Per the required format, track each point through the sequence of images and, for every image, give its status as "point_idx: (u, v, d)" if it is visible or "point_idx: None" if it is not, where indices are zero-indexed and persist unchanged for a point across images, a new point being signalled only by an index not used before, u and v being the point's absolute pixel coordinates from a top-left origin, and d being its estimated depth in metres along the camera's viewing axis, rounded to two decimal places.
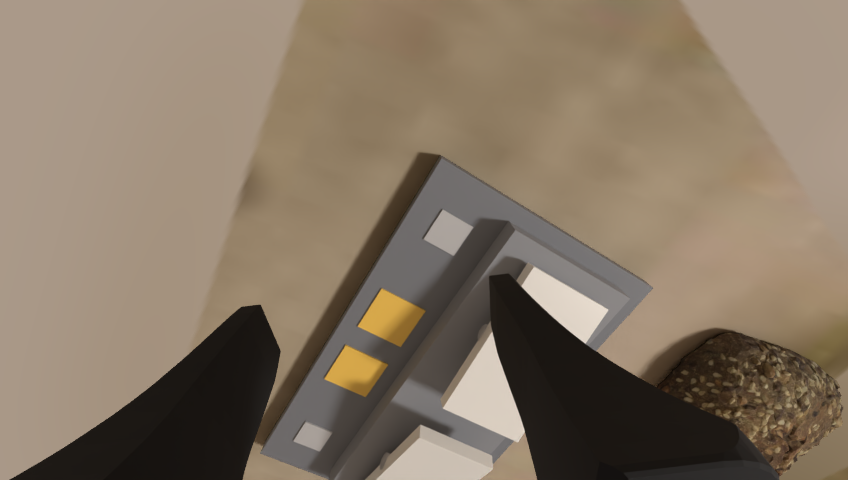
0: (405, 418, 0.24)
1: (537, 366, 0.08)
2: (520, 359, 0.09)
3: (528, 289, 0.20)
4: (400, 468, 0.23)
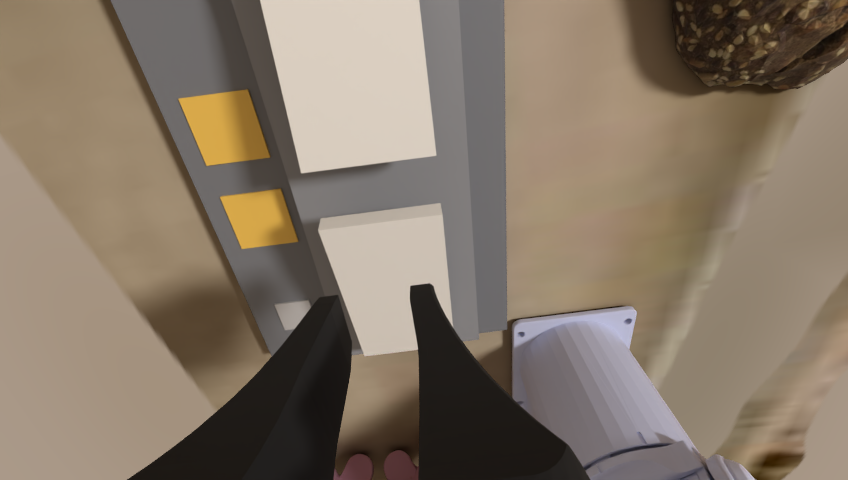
0: None
1: None
2: None
3: None
4: (352, 284, 0.17)
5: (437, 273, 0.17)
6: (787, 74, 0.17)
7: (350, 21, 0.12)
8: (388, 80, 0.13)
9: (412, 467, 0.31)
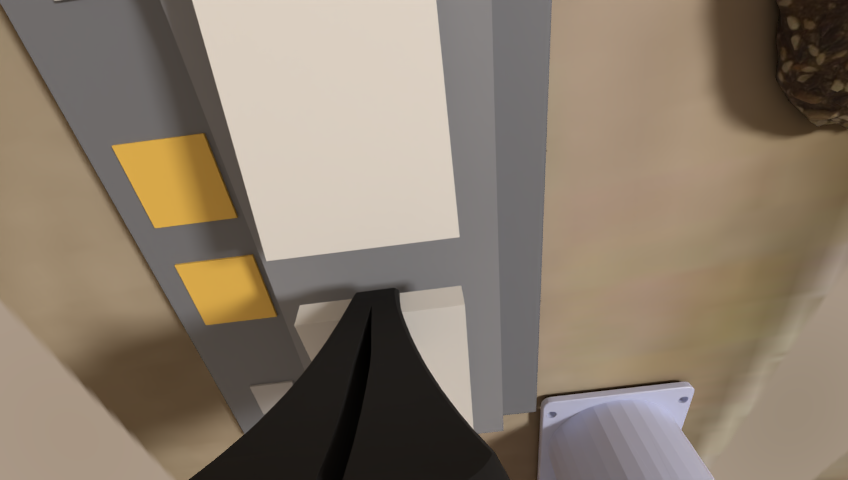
0: None
1: None
2: None
3: None
4: None
5: (455, 372, 0.13)
6: None
7: (334, 49, 0.08)
8: (391, 134, 0.09)
9: None
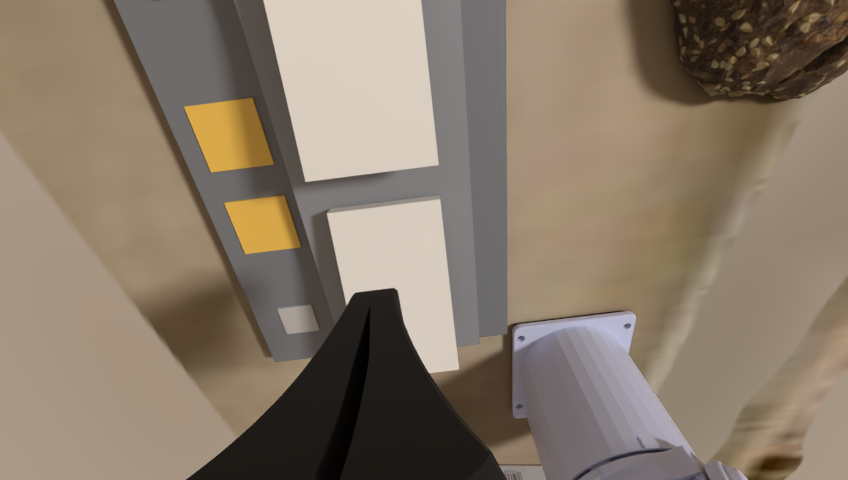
0: None
1: None
2: None
3: None
4: (354, 279, 0.18)
5: (437, 269, 0.18)
6: (788, 85, 0.17)
7: (355, 34, 0.13)
8: (392, 91, 0.13)
9: None
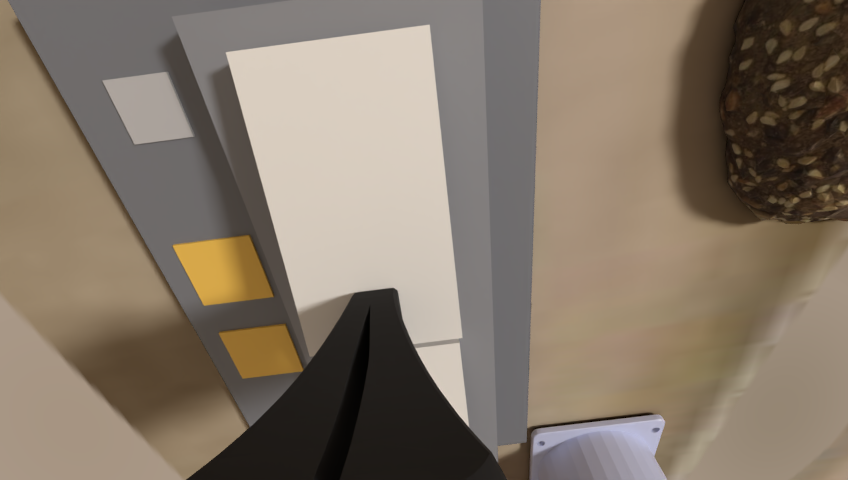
0: None
1: None
2: None
3: (255, 100, 0.10)
4: None
5: None
6: None
7: (367, 210, 0.11)
8: (410, 266, 0.11)
9: None
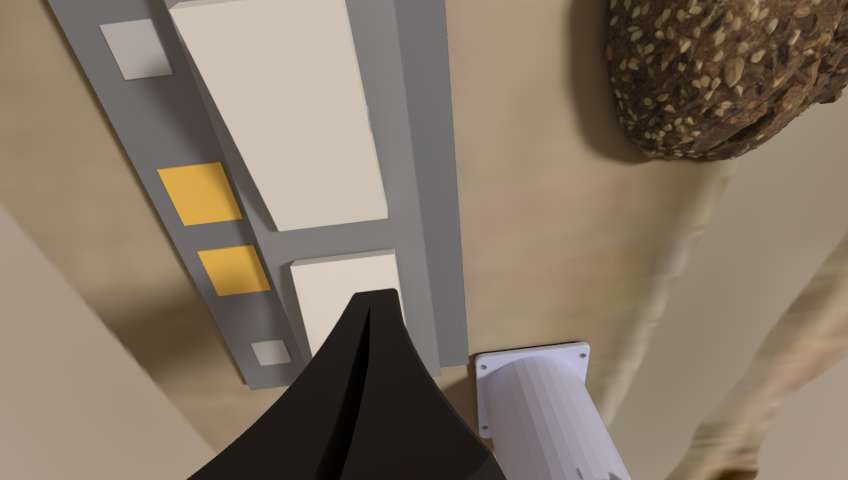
0: None
1: None
2: None
3: (203, 50, 0.12)
4: (316, 324, 0.19)
5: None
6: (717, 151, 0.19)
7: (307, 133, 0.14)
8: (344, 172, 0.16)
9: None
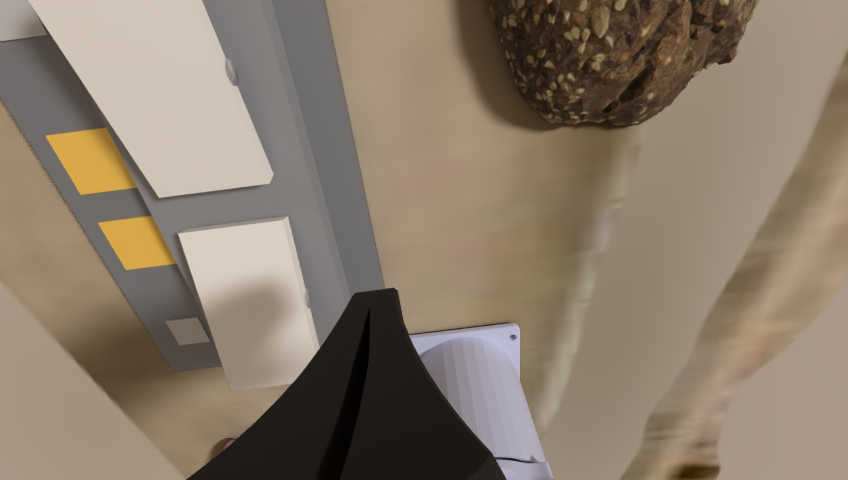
0: None
1: None
2: None
3: None
4: (211, 294, 0.19)
5: (288, 284, 0.19)
6: (616, 114, 0.18)
7: (162, 84, 0.14)
8: (211, 129, 0.15)
9: None
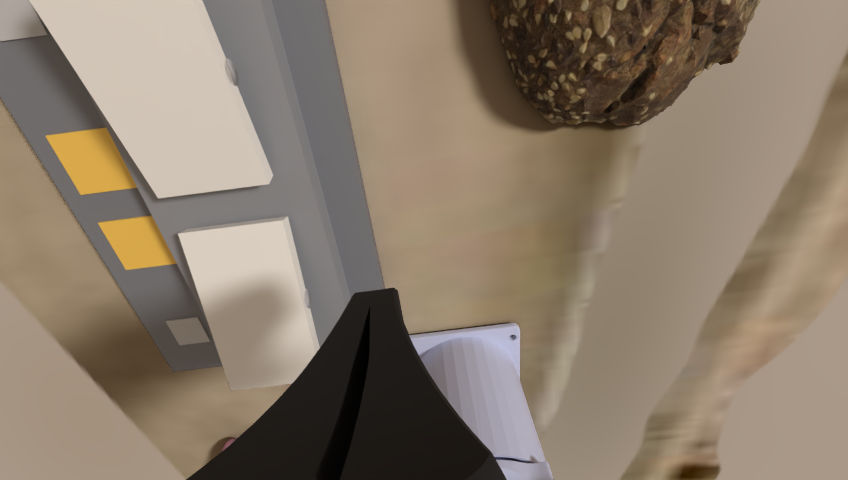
0: None
1: None
2: None
3: None
4: (211, 294, 0.19)
5: (288, 284, 0.19)
6: (617, 114, 0.18)
7: (162, 84, 0.14)
8: (211, 129, 0.15)
9: None
